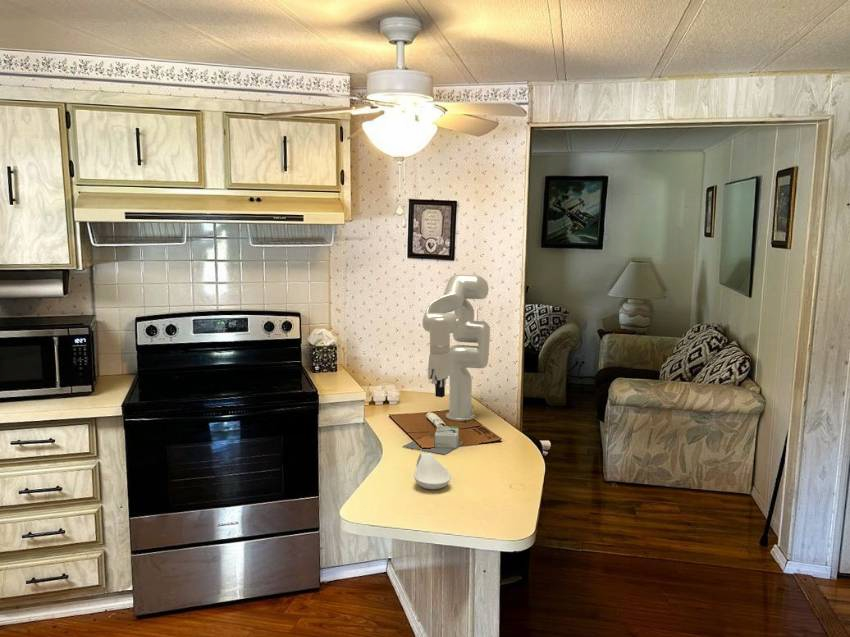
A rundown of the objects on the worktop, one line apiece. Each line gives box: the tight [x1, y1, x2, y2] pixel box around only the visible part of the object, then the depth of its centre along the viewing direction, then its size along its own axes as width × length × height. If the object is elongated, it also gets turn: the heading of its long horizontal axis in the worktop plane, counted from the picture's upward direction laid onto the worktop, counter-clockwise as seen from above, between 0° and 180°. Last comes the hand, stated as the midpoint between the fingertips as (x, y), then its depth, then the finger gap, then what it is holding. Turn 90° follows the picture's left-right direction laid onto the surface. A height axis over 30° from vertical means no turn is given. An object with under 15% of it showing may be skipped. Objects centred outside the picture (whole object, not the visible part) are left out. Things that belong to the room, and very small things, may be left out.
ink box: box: [434, 425, 460, 449], centre depth 261 cm, size 9×5×12 cm
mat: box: [402, 435, 466, 456], centre depth 260 cm, size 16×18×1 cm
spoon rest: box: [413, 452, 452, 490], centre depth 225 cm, size 24×12×7 cm, turn 11°
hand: (440, 396), depth 262 cm, fingers closed
